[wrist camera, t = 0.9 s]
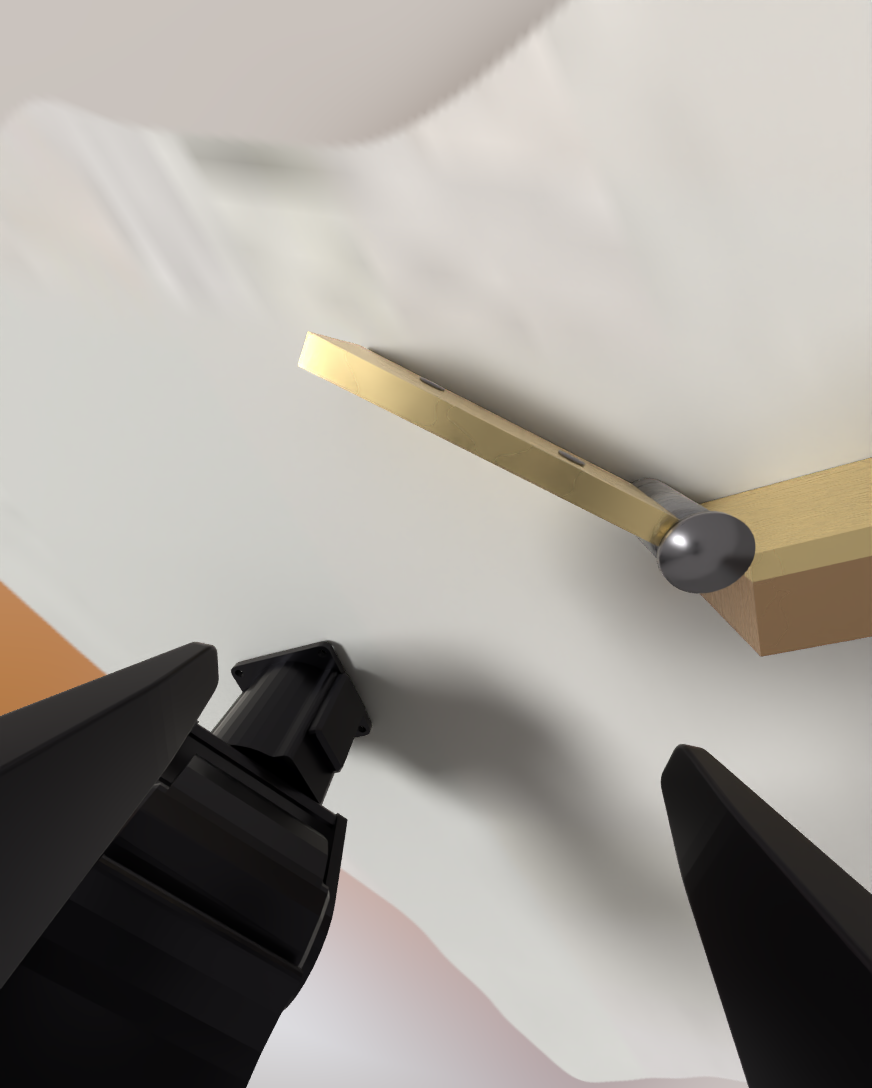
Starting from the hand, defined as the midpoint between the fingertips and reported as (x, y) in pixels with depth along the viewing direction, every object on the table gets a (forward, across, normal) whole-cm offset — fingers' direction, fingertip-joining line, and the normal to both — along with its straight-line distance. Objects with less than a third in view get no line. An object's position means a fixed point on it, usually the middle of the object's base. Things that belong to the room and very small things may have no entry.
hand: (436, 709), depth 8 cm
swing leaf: (+12, -1, -4) cm, 12 cm away
